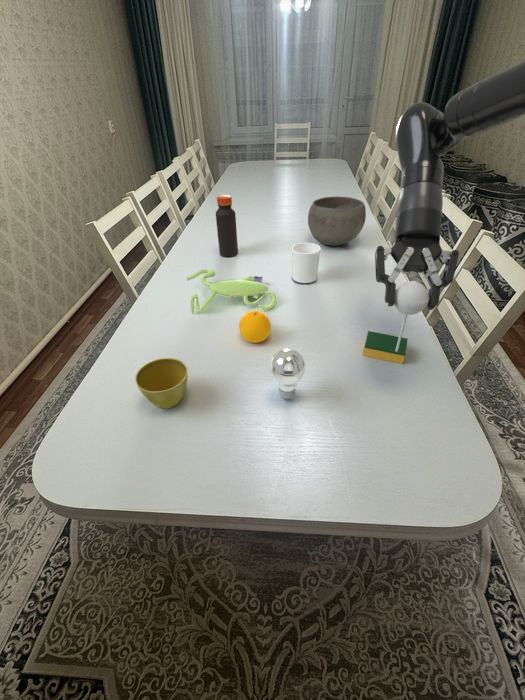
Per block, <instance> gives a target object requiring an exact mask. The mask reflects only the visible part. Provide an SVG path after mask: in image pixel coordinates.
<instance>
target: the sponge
mask: <svg viewBox="0 0 525 700" xmlns="http://www.w3.org/2000/svg"><path fill="white" fill-rule="evenodd" d="M398 339H399V336H397V335H393V334H387V333H381V332H376V331H371V330H368V332H367V336H366V339H365V343H364V347H363V352H362V356H363V357H366V358H371V359H376V360H381V361H386V362H390V363H395V364H400V365H403V364H404V361H405V358H406V354H407V347H408V337H403V336H402V337H401V341H400V345H399V349H398V352H396V351H395V350H396V346H397V343H398Z"/></svg>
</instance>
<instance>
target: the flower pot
mask: <svg viewBox="0 0 525 700" xmlns="http://www.w3.org/2000/svg"><path fill="white" fill-rule="evenodd" d="M188 369H189V368H188V366H187V365H186V363H185V362H183V361H182V360H180V359H177V358H172V357H163V358H157V359H154V360H151V361H148V362H147V363H145V364H144V365H142V366H141V367H140V368H139V369H138V371H136V374H135V377H134V380H135V381H134V382H135V385H136V386H137V388H138V390H139V391H140V393H141V394H142V396H144V397H145V398H146V399H147V400H148V401H149V402H150V403H151V404H153V405H154V406H156V407H158V408H160V409H170V408H173V407H175V406H176V405H178V404H179V403H180V402H181V400H182V398H183V396H184V395H185V391H186V389H187V384H188V378H189V374H188V373H189V371H188Z"/></svg>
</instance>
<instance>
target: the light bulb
mask: <svg viewBox="0 0 525 700" xmlns="http://www.w3.org/2000/svg"><path fill="white" fill-rule="evenodd" d="M306 369H307V366H306V360H305V358H304V356H303V355H302V354H301V353H300V352H298V350H296V349H292V348H282V349H280V350H278V351H277V352H275V353H274V355H273V356H272V358H271V359H270V361H269V372H270V374H271V378H273V380H274V381H275V382H276V383H277V387H278V395H279V397H280V398H281V399H284V400H290V399H293V398H294V397H295V395H296V388H297V386H298V383H299V382H300V381H301V380H302V379H303V378H304V376H305V374H306Z"/></svg>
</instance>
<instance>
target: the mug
mask: <svg viewBox="0 0 525 700" xmlns="http://www.w3.org/2000/svg"><path fill="white" fill-rule="evenodd" d="M321 251H322V248H321V246H320V245H318V244H317V243H315V242H298V243H295V244H293V245H292V246H291V280H292V281H293V282H294V283H295V284H296V283H297V284H298V285H312V284H314V283H316V281H317V280H318V274H319V273H318V272H319V265H320V256H321Z"/></svg>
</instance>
